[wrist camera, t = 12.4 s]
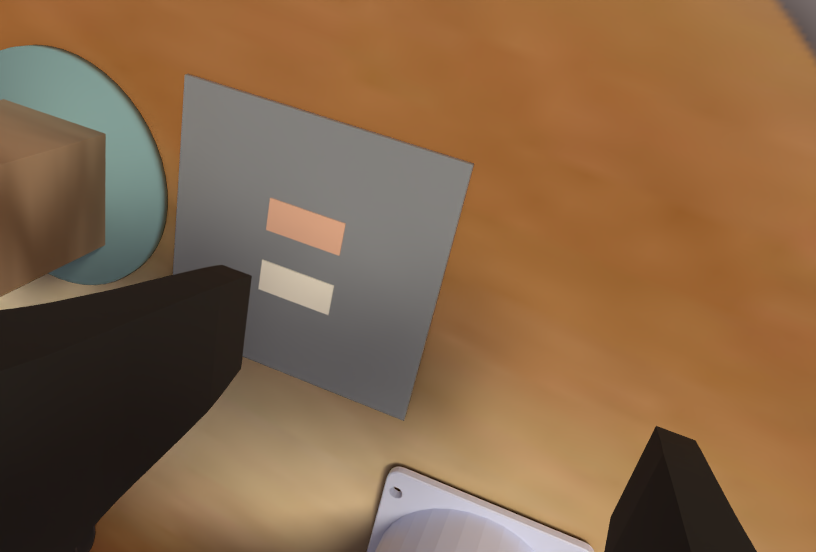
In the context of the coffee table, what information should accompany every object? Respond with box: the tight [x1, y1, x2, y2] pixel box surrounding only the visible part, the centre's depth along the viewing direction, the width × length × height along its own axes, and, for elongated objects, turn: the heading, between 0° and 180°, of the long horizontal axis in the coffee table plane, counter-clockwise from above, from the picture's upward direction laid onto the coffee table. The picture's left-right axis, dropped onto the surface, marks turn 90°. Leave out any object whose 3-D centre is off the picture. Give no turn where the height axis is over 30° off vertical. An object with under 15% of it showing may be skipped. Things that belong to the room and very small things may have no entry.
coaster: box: [0, 45, 168, 285], centre depth 26 cm, size 9×9×1 cm
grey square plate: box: [173, 74, 474, 421], centre depth 24 cm, size 10×10×1 cm
